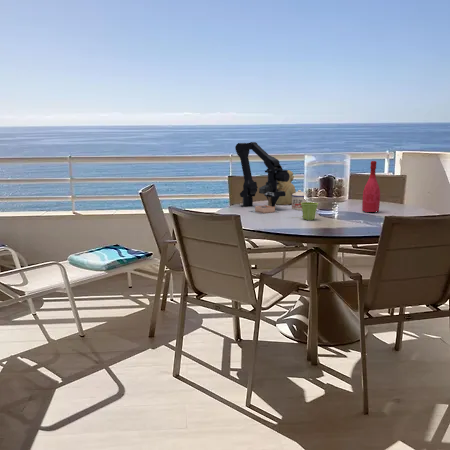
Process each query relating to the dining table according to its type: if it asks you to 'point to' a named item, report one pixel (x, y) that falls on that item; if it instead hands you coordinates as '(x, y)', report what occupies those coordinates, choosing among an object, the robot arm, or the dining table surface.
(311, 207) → the plant pot
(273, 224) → the dining table surface
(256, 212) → the slate board
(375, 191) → the wine bottle
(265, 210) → the open square box
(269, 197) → the beveled wooden wedge block
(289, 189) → the ceramic vessel
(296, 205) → the teacup with lid
